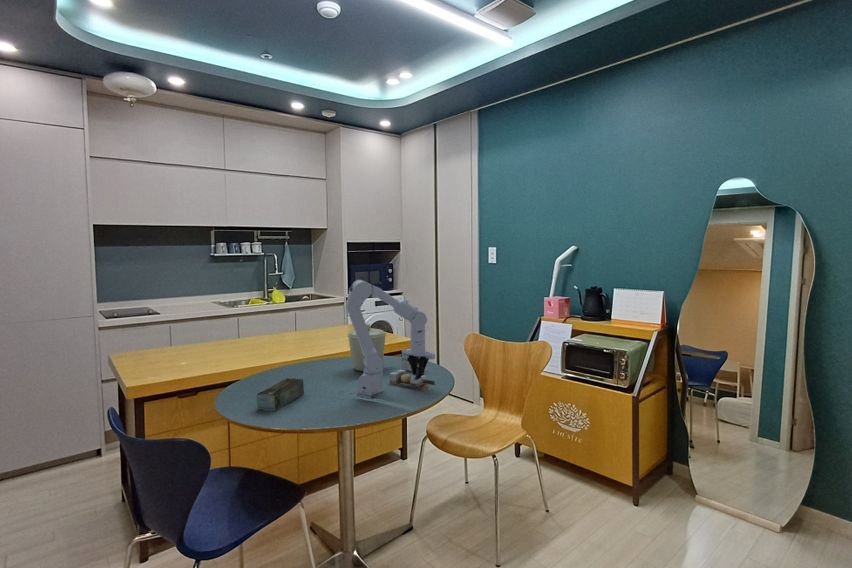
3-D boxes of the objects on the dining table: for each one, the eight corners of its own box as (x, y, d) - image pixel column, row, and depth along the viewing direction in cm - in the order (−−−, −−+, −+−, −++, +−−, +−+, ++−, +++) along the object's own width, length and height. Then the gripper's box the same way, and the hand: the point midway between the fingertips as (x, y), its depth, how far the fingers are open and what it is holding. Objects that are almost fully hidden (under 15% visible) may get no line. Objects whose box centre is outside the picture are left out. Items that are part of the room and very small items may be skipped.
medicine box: (401, 372, 203) (401, 353, 202) (406, 370, 207) (406, 351, 206) (416, 375, 199) (416, 355, 198) (421, 372, 203) (421, 353, 202)
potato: (407, 385, 180) (407, 377, 179) (399, 383, 182) (398, 376, 182) (412, 382, 183) (412, 375, 183) (404, 380, 185) (404, 373, 185)
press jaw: (416, 387, 176) (416, 369, 175) (410, 386, 177) (410, 368, 177) (426, 382, 181) (426, 365, 181) (420, 381, 183) (419, 364, 182)
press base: (422, 394, 173) (422, 380, 172) (385, 387, 182) (385, 374, 181) (435, 387, 181) (435, 374, 181) (400, 381, 190) (399, 368, 190)
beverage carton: (255, 410, 158) (254, 391, 158) (287, 393, 177) (286, 376, 176) (275, 412, 156) (274, 393, 156) (305, 394, 175) (304, 378, 174)
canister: (353, 363, 220) (352, 320, 218) (390, 364, 218) (389, 320, 216) (343, 373, 202) (342, 327, 200) (383, 374, 200) (382, 327, 198)
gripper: (439, 341, 177) (439, 375, 178) (408, 337, 185) (408, 369, 186) (429, 344, 171) (429, 379, 172) (398, 340, 179) (398, 374, 180)
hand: (418, 374), depth 179 cm, fingers closed on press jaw, 2 cm apart
